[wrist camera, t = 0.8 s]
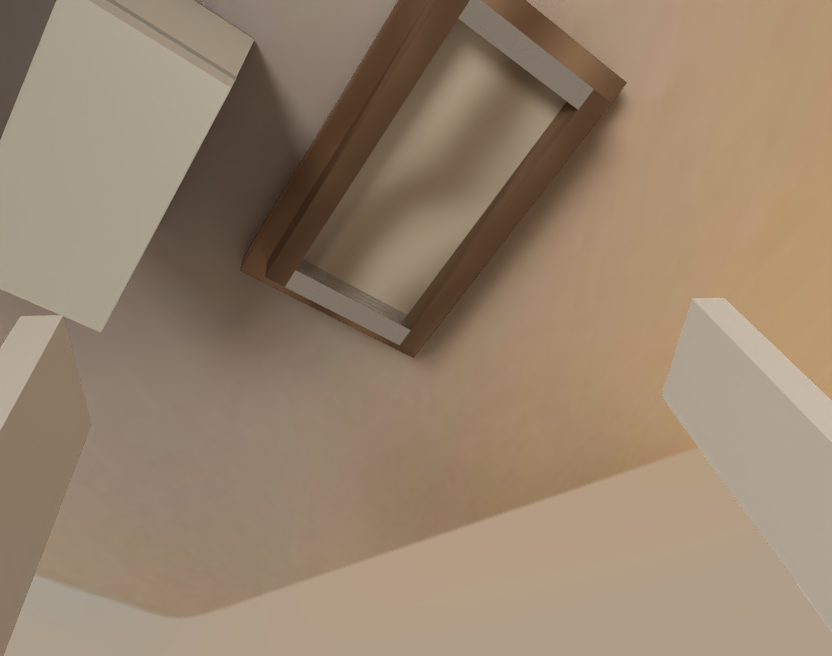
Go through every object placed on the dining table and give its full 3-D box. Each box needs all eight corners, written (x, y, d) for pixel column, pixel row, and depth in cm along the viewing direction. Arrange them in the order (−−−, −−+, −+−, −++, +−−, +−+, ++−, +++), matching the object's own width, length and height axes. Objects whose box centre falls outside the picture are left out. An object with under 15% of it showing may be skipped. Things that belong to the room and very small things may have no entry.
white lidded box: (43, 175, 36) (-52, 267, 27) (136, -38, 32) (62, -17, 22) (153, 231, 38) (101, 333, 29) (254, 39, 34) (232, 87, 25)
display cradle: (242, 258, 40) (236, 287, 37) (439, -67, 32) (451, -65, 30) (410, 344, 44) (417, 376, 42) (616, 76, 37) (642, 91, 34)
